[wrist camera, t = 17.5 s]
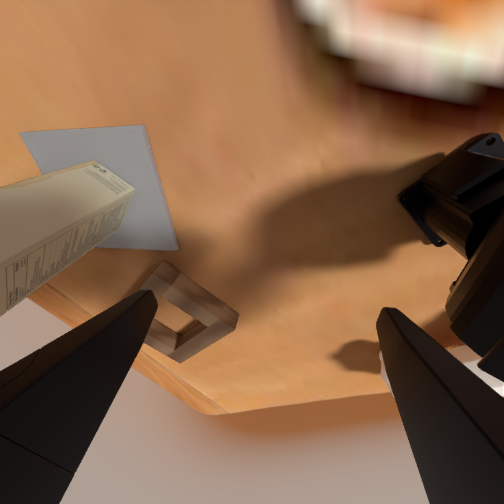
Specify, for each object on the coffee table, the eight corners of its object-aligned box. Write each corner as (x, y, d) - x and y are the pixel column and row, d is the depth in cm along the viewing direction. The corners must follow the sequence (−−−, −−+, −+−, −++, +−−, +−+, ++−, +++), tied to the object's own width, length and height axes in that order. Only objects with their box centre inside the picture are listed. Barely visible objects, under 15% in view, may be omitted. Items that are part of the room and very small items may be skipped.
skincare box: (95, 158, 19) (-120, 209, 9) (139, 190, 20) (-10, 268, 10) (81, 207, 22) (-89, 286, 12) (120, 233, 24) (-7, 324, 14)
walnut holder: (239, 314, 29) (235, 329, 27) (186, 348, 36) (180, 363, 34) (163, 259, 25) (152, 272, 23) (122, 309, 32) (110, 323, 30)
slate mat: (144, 124, 18) (140, 125, 17) (179, 248, 24) (177, 250, 24) (25, 131, 19) (18, 132, 19) (87, 244, 26) (83, 246, 26)
